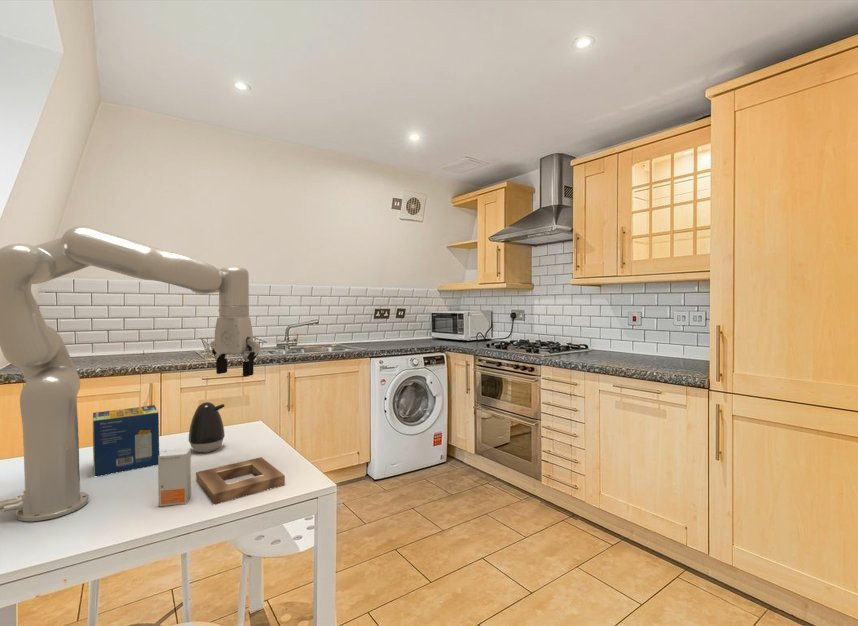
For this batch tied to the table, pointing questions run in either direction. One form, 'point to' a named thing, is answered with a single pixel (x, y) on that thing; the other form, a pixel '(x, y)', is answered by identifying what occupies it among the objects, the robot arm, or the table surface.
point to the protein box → (125, 439)
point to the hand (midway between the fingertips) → (234, 374)
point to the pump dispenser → (206, 428)
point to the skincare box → (174, 477)
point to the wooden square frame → (222, 492)
